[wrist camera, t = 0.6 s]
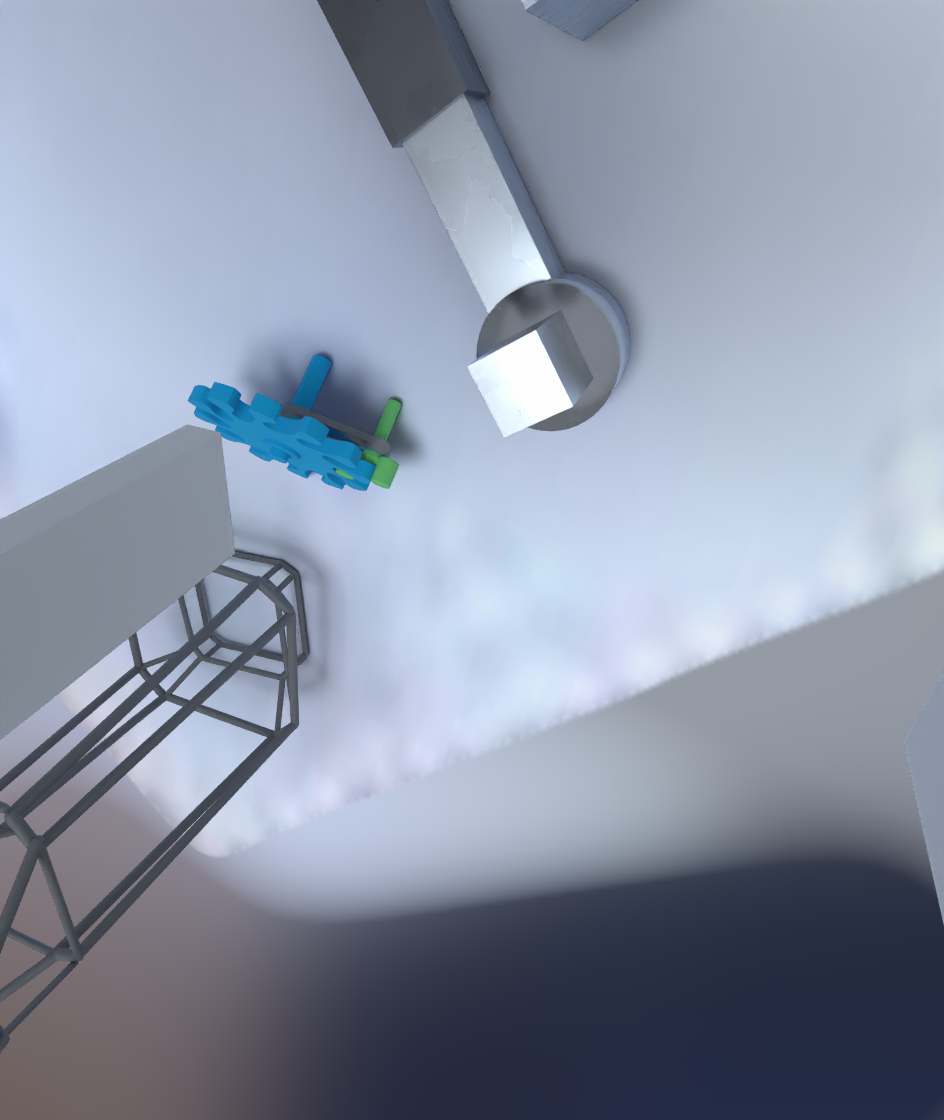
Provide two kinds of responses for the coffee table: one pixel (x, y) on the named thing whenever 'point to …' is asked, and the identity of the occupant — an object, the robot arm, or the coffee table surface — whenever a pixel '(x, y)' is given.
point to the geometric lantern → (73, 764)
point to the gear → (302, 432)
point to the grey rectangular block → (577, 13)
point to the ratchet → (486, 217)
